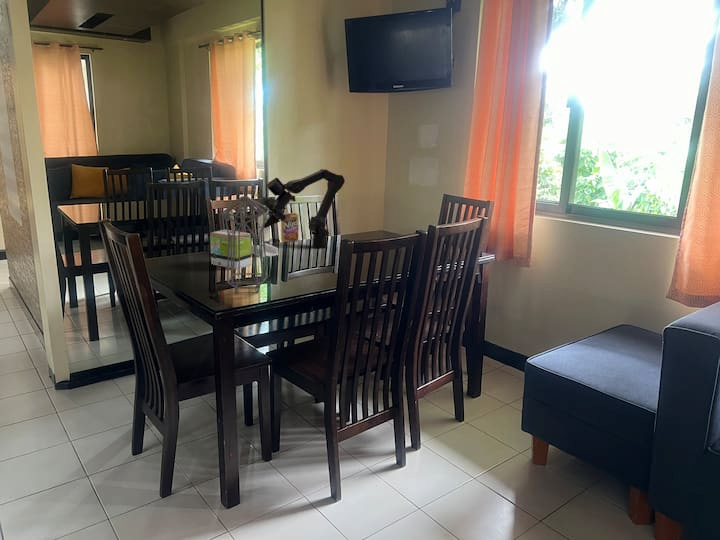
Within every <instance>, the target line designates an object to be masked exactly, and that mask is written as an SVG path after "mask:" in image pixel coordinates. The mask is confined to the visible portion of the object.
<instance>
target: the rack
mask: <svg viewBox="0 0 720 540" xmlns="http://www.w3.org/2000/svg"><path fill="white" fill-rule="evenodd" d="M262 251H263V258H265V255H264V248H262ZM265 251H266V256H268V257H275V256H276V255H277V256H279V248H278V247H276V246H274V245H271V244H269V243H267V242H265ZM251 254H253V255H255V253H254V244H251ZM257 256H258V257H259V256H260V251H259V246H256V257H257Z"/></svg>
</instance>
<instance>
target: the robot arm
mask: <svg viewBox="0 0 720 540" xmlns="http://www.w3.org/2000/svg"><path fill="white" fill-rule="evenodd" d="M323 179H324V180H325V181H327V184H326V185H327V190H326V193H325V195H324V197H323V200H322V202H321V204H320V206H319V207H318V208H319V209H318V211H317V213H316V215H315V216H311V217H310V219H309V222H308V229H309V231H310V233H311V235H313V236H312V239H311V242H312V243H311V247H313V248H314V247H315V249H326V248H325V247H328V246H327V240H328V239H327V237H329V234H330V232H329V231H328V230H327V229H326V226H327V222H326V221H327V219H326V218H327V216H328V214H329V211H330V209H331V207H332V204H333V201H334V200H335V197H336V195H337V193H338V192H339V191H340V190H341V189H342V188H343V186H344V184H345V181H346V180H345V177H344V176H343V175H342V174H336V173H334V172H332V171H329V170H328V169H323V168H322V169H319V170H318V171H315V172H313V173H311V174H309V175H307V176H304V177H302V178H298V179H293V180H289V181H288V182H286V183H283V182H282V181H281V180H280V179H279V178H278V177H274V178H273V179H272V180H270V181H268V183H267V184H266V188H267V189H268V190H269V191H270V193H272V194H273V196H275V197H276V196H277V197H276V198H273V197H269V198H268V197H264V196H262V197H261V199H260V202H259V204H261V205H264V206H265V207H267V208H268V209H269V212H268V216H269V218H268V220H267V221H266V223H265V225H264V228H267V227H269V228H270V227H271V226H272V225H275V224H277V223H281V221H282V222H284V220H285V219H286V216H285V215H284V214H283V213H284V212H283V210H286V209H287V208H286V207H287V205H288V204H289V203H290V202H296V201H297V200H296V196H295V195H293V194H299V193H301V192H302V191H304V190H305V189H306V187H308V186H310V185H312V184H314V183H316V182H319V181H321V180H323ZM259 207H260V208H261V209H262V208H263V207H261V206H260V205H259ZM266 211H267V210H265V211H264V212H265V213H266ZM257 226H258V223H257Z"/></svg>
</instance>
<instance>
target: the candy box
mask: <svg viewBox="0 0 720 540" xmlns="http://www.w3.org/2000/svg"><path fill="white" fill-rule="evenodd" d="M282 213H283V214H284V215H285V216H286V219H285V220H284V222H282V221H280V223H281V224H280V225H281V229H280V230H281V231H280V234H281V235H280V236H281V237H280V239H281V242H282V243H284V242H285V243H286V242H288V243H289V242H299V225H300V223H299V222H300V221H299V213H298V212H282Z"/></svg>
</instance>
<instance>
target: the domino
mask: <svg viewBox="0 0 720 540" xmlns="http://www.w3.org/2000/svg"><path fill="white" fill-rule="evenodd" d="M261 215H262V214H261ZM268 218H269V216H268V215H267V218H266V221H267V220H268ZM266 221H265V223H266ZM257 222H258V223H259V225H260V227H262V224H263V216H259V217H258V218H257ZM258 223H257V224H258ZM259 225H257V230H261V228H260V227H259ZM262 228H263V227H262ZM263 231H264V240H265V242H269V241H270V226H269V227H267V228H264V230H263ZM259 233H260V231H257V235H259ZM260 241H261V235H260ZM262 242H263V234H262Z"/></svg>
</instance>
